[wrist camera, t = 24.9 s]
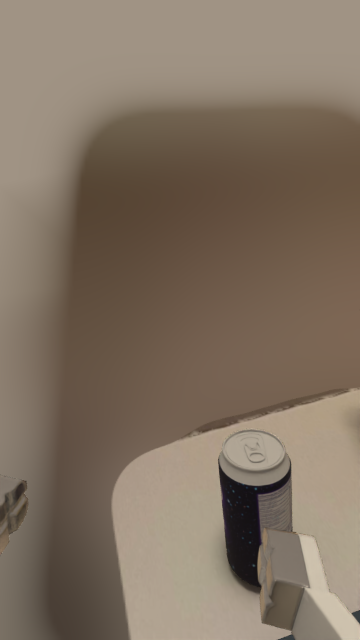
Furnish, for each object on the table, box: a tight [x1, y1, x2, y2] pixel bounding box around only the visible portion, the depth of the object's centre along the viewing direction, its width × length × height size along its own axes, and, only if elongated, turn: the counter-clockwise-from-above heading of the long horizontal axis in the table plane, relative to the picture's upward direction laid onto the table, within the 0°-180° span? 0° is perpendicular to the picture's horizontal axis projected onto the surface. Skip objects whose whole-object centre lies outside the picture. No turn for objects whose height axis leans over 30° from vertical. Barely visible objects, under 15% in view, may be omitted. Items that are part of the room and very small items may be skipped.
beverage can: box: [218, 429, 292, 587], centre depth 27 cm, size 6×6×12 cm
